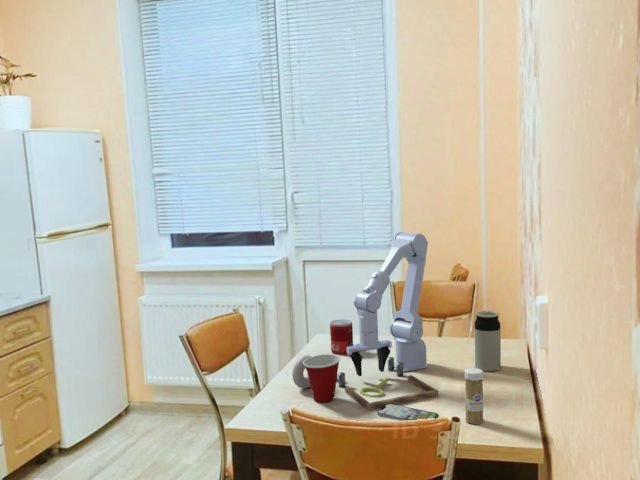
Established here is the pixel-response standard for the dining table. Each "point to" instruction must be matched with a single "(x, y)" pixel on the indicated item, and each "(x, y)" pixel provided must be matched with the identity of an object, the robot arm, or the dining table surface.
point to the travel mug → (487, 341)
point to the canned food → (341, 336)
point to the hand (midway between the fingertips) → (370, 373)
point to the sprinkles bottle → (474, 395)
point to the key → (375, 389)
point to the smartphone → (404, 413)
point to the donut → (300, 373)
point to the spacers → (390, 368)
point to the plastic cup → (322, 376)
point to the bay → (399, 400)
